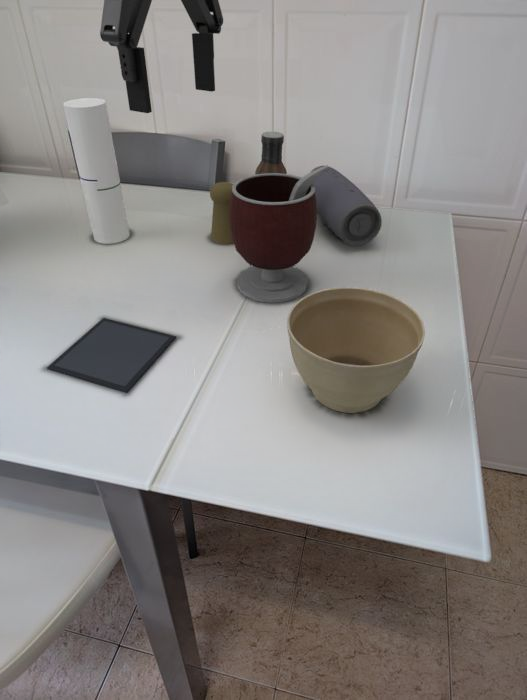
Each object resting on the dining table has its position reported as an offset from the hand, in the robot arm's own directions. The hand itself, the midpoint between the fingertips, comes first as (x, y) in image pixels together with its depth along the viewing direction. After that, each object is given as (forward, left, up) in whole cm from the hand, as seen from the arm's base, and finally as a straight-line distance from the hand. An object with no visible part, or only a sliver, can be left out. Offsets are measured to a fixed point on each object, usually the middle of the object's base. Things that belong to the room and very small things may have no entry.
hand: (175, 100), depth 63 cm
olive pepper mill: (-6, +24, -31) cm, 39 cm away
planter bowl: (+28, -11, -31) cm, 43 cm away
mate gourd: (+10, +11, -31) cm, 34 cm away
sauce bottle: (+2, +28, -31) cm, 41 cm away
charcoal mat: (-5, -16, -31) cm, 35 cm away
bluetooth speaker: (+14, +37, -31) cm, 50 cm away
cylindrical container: (-28, +16, -31) cm, 44 cm away
